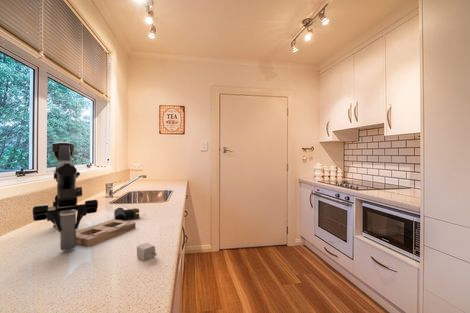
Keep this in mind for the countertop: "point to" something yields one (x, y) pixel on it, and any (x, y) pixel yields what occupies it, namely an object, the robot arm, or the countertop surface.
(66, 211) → the grey cylinder
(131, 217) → the pipe connector
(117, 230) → the socket plate
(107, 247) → the countertop surface
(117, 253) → the countertop surface
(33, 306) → the countertop surface
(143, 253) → the usb wall charger
